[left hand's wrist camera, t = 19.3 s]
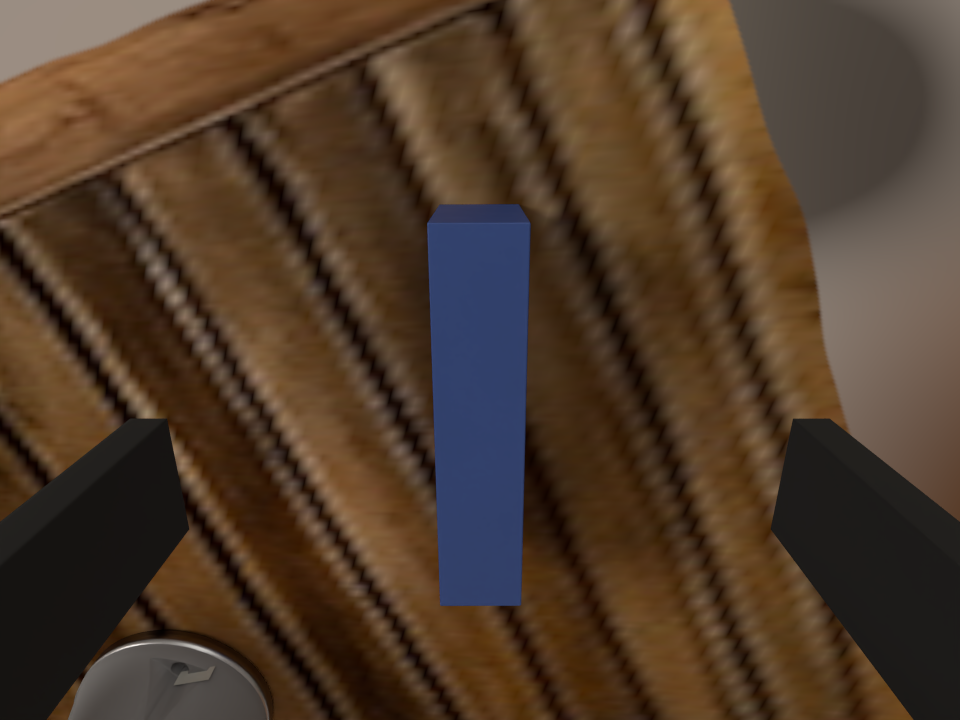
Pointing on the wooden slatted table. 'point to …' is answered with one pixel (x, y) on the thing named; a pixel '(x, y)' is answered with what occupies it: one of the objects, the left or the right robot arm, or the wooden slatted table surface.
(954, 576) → the left robot arm
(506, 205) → the bar
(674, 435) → the wooden slatted table surface
